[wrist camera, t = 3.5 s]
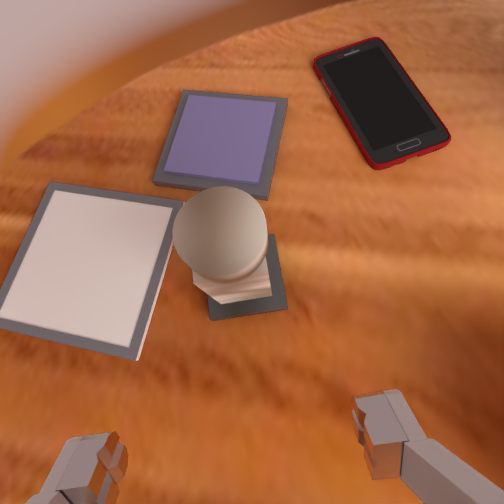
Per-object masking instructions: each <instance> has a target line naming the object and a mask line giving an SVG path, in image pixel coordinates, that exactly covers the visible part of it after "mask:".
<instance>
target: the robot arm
mask: <svg viewBox="0 0 504 504" xmlns="http://www.w3.org/2000/svg"><path fill="white" fill-rule="evenodd" d="M351 403H352V406H353V408H354V409H353V410H352V420H353V425H354V429H355V432H356V435H357V438H358V441H359V443H360V444H361V445H362V446H364V458H365V461H366V464H367V466H368V469H369V472H370V474H371V477H372V480H381V479H391V478H400V477H401V480H402V481H403V482H404V483H405V484H406V485H407V486H408V487H409V488H410V489H411V490H412V491H413V492H414V493H415V494H416V495H417V496H418V497H419V499H420V500H421V501H422V502H423V503H424V504H504V491H503V490H502V489H501V488H499V487H498V486H496V485H495V484H494V483H492V482H491V481H490V480H488V479H487V478H486V477H484V476H483V475H482V474H480V473H479V472H478V471H476V470H475V469H474V468H472V467H471V466H470V465H468V464H467V463H465V462H464V461H463V460H461V459H460V458H459V457H457V456H456V455H455V454H453V453H452V452H451V451H449V450H448V449H447V448H445V447H444V446H443V445H441V444H440V443H439V442H437V441H436V440H434V439H433V438H430V439H428V438H427V436H426V435H425V433H424V431H423V430H422V428H421V426H420V424H419V423H418V421H417V419H416V417H415V416H414V414H413V412H412V410H411V409H410V407H409V405H408V403H407V402H406V400H405V398H404V397H403V395H402V393H401V392H400V391H399V390H398V389H392V390H386V391H377V392H371V393H365V394H359V395H353V396H352V397H351ZM118 440H119V435H118V434H117V433H116V431H115V432H108V433H100V434H93V435H84V436H78V437H71V438H70V439H69V440H68V441H67V442H66V443H65V445H64V446H63V448H62V450H61V452H60V454H59V456H58V458H57V460H56V462H55V464H54V465H53V467H52V469H51V471H50V473H49V475H48V477H47V479H46V481H45V483H44V484H43V486H42V488H41V490H40V492H39V494H35V495H33V496H32V497H31V498H30V499H29V500H28V501H27V502H26V503H25V504H116V501H117V498H118V495H119V492H120V491H119V487H118V483H119V482H120V481H121V479H122V478H123V477H124V476H125V472H126V469H127V465H128V452H127V449H126V447H125V445H124V444H122V443H120V442H118Z"/></svg>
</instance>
